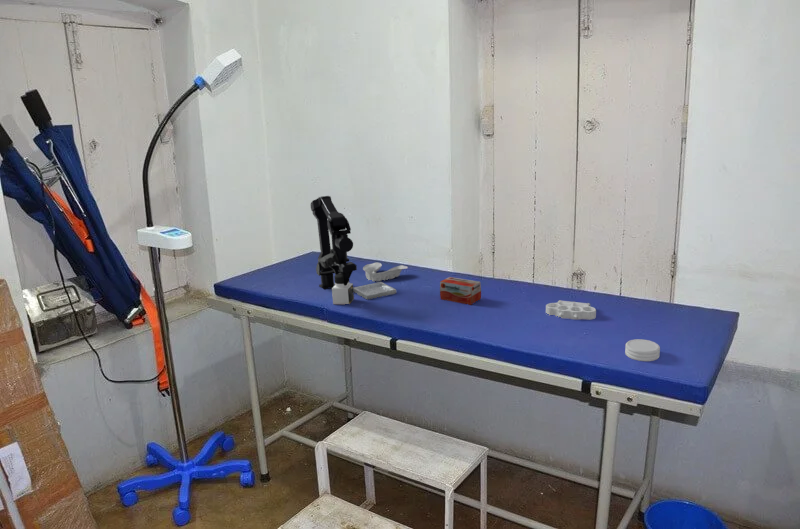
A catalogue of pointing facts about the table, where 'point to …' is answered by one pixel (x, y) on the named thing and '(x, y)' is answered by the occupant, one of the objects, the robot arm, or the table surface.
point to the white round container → (642, 350)
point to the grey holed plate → (571, 310)
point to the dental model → (372, 275)
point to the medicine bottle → (342, 291)
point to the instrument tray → (374, 290)
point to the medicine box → (460, 290)
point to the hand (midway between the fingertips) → (342, 283)
